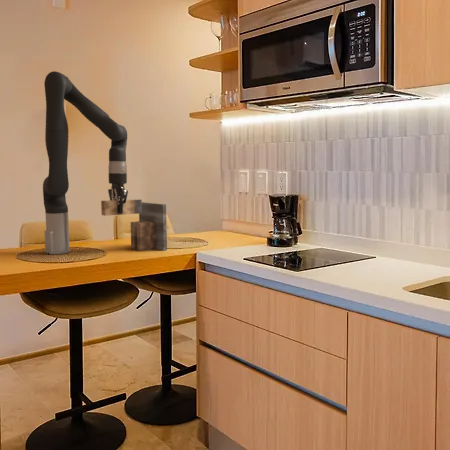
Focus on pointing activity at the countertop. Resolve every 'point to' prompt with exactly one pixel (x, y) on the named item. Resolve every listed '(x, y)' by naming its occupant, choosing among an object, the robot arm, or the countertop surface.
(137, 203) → the rail
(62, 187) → the robot arm
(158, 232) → the slotted block base plate
